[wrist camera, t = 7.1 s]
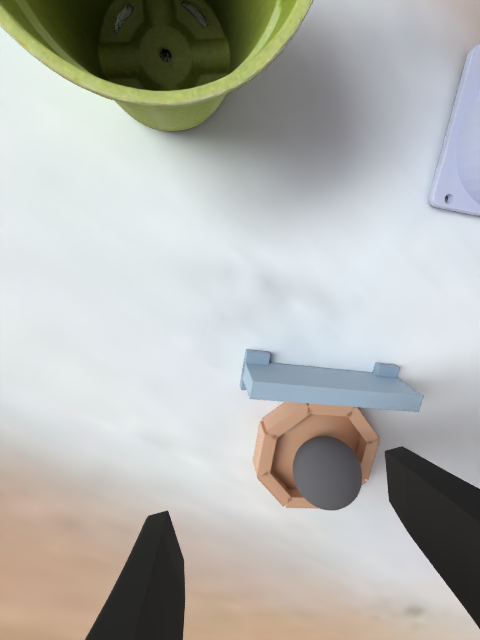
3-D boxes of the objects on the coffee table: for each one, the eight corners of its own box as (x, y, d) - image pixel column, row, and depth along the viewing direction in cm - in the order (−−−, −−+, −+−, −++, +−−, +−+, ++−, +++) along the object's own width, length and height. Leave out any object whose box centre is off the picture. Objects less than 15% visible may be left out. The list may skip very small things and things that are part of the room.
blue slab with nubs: (395, 364, 21) (427, 384, 18) (385, 398, 22) (415, 422, 19) (245, 349, 19) (255, 368, 17) (239, 385, 20) (247, 410, 17)
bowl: (376, 397, 22) (388, 407, 20) (350, 493, 23) (359, 509, 22) (266, 388, 20) (271, 398, 19) (247, 490, 22) (250, 507, 21)
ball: (337, 415, 21) (371, 455, 17) (346, 465, 22) (380, 513, 18) (278, 434, 20) (299, 479, 17) (290, 484, 22) (313, 537, 18)
